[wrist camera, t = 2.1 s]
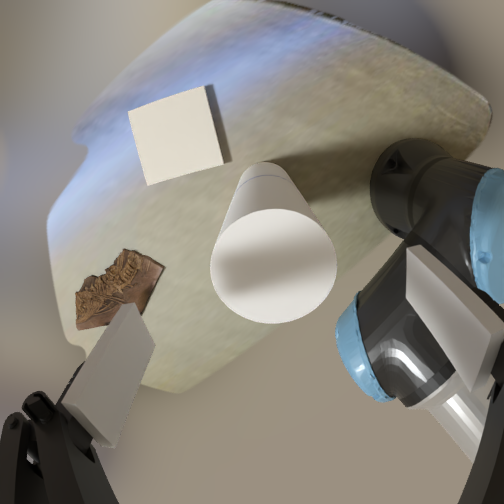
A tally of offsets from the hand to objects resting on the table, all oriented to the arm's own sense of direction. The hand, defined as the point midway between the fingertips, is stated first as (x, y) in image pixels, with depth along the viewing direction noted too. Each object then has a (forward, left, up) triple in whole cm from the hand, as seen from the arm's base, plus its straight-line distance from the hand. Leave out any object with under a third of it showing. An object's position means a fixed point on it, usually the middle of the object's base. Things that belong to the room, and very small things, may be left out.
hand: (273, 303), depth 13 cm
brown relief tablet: (+30, +12, -29) cm, 43 cm away
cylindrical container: (0, 0, -29) cm, 29 cm away
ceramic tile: (+10, -10, -28) cm, 32 cm away
